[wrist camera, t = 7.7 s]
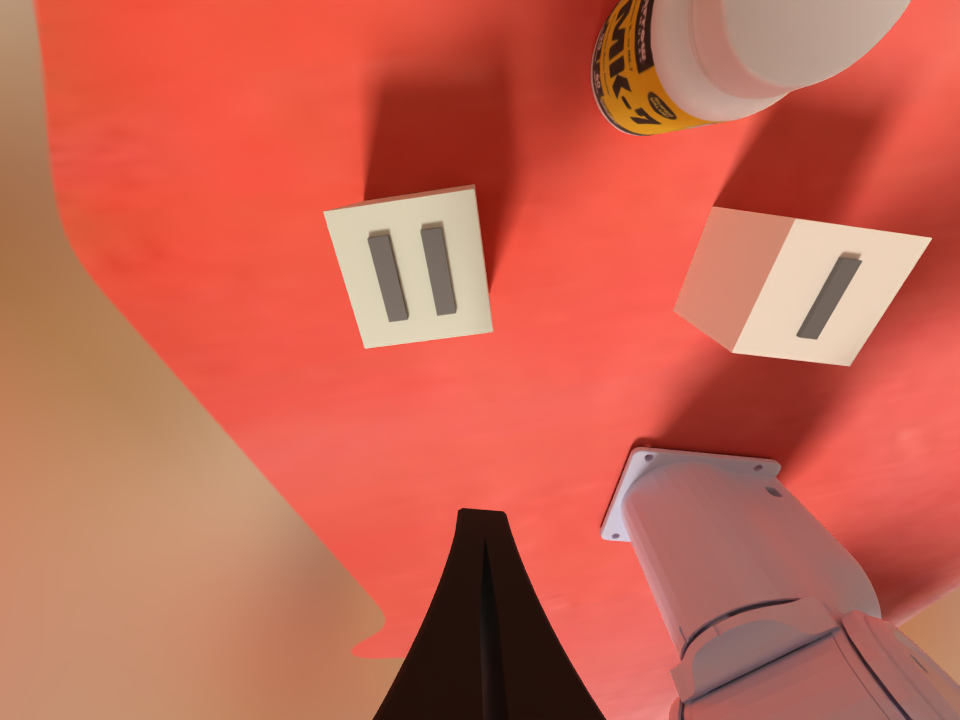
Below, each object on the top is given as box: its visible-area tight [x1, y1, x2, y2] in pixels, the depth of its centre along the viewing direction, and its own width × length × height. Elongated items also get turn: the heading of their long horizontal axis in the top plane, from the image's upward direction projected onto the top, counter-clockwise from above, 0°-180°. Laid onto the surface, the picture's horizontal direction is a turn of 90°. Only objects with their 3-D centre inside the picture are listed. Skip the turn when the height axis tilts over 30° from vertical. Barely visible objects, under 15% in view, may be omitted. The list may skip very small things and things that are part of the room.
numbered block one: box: [673, 206, 932, 366], centre depth 16 cm, size 5×5×5 cm
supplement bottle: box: [591, 0, 911, 136], centre depth 11 cm, size 5×5×8 cm
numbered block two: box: [323, 184, 493, 349], centre depth 15 cm, size 5×5×5 cm
